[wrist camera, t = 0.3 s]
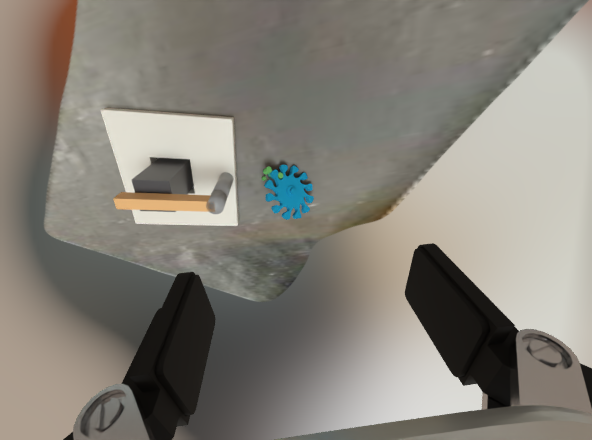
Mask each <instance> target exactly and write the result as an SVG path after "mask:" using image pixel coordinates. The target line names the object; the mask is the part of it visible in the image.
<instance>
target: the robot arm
mask: <svg viewBox="0 0 592 440" xmlns="http://www.w3.org/2000/svg"><path fill="white" fill-rule="evenodd" d="M405 296H406V299H407V301H408V302H409V304H410V305H411V307H412V309H413V310H414V312H415V314H416V315H417V317H418V319H419V320H420V322H421V324H422V325H423V327H424V329H425V330H426V332H427V334H428V335H429V337H430V338H431V340H432V342H433V343H434V345H435V346H436V348H437V350H438V352H439V353H440V355H441V357H442V358H443V360H444V361H445V363H446V365H447V366H448V368H449V370H450V371H451V373H452V374H453V375H454V376H455V377H458V378H459V380H460V381H461V383H462V384H463V385H471V384H478V386H479V387H480V388H481V390H482V392H483V397H482V410H477V411H468V412H460V413H453V414H446V415H439V416H432V417H425V418H418V419H411V420H404V421H396V422H390V423H383V424H376V425H369V426H362V427H356V428H349V429H342V430H335V431H328V432H321V433H315V434H308V435H302V436H295V437H288V438H281V439H275V440H592V368H589V367H587V366H585V365H582V364H580V363H579V361H578V359H577V356H576V355H575V354H574V353H573V352H572V350H571V349H570V348H569V347H567V346H566V345H565V344H564V343H563V342H561V341H560V340H558V339H556V338H555V337H553V336H551V335H549V334H547V333H545V332H541V331H538V330H534V329H524V330H520V331H518V330H517V329H516V328H515V327H514V326H515V325H514V324H513V323H512V322H511V321H510V320H509V319H508V318H507V317H506V316H505V315H504V314H503V313H502V312H501V311H500V310H499V309H498V308H497V307H496V306H495V305H494V304H493V303H492V302H491V301H490V299H489V298H488V297H487V296H486V295H485V294H484V293H483V292H482V291H481V290H480V289H479V288H478V287H477V286H476V285H475V284H474V283H473V282H472V281H471V280H470V279H469V278H468V277H467V276H466V275H465V274H464V273H463V272H462V271H461V270H460V269H459V268H458V267H457V266H456V265H455V264H454V263H453V262H452V261H451V260H450V259H449V258H448V257H447V256H446V255H445V254H444V253H443V252H442V250H441V249H440V248H439V247H438V246H437V245H435V244H424V245H419V246H418V248H417V249H415V251H414V254H413V259H412V263H411V267H410V272H409V276H408V280H407V285H406V289H405ZM214 326H215V315H214V312H213V310H212V307H211V305H210V302H209V299H208V297H207V294H206V292H205V289H204V287H203V284H202V281H201V279H200V277H199V275H195V273H194V272H188V273H179V274H178V275H177V276H176V278H175V281H174V283H173V285H172V287H171V289H170V291H169V293H168V296H167V298H166V300H165V302H164V304H163V307H162V308H160V309H159V310H158V311H157V312H156V314H155V316H154V318H153V320H152V322H151V324H150V326H149V328H148V330H147V332H146V334H145V337H144V339H143V341H142V343H141V345H140V347H139V349H138V351H137V353H136V355H135V357H134V359H133V361H132V363H131V366H130V367H129V369H128V371H127V374H126V376H125V378H124V380H123V382H122V384H115V385H113V386H110V387H107V388H106V389H104V390H102V391H100V392H99V393H98V394H96V395H95V396H94V397H93V398H92V399H91V400H90V401H89V402H88V403H87V404H86V405H85V406H84V407H83V409H82V410H81V412H80V414H79V415H78V417H77V419H76V422H75V424H74V429H73V432H72V433H71V434H70V435H68V436H67V437H66V438H65V439H63V440H172V438H173V437H174V434H175V430H176V427H177V426H183V425H188V422H189V417H190V415H192V414H194V412H195V410H196V406H197V402H198V397H199V393H200V388H201V384H202V380H203V375H204V371H205V366H206V361H207V357H208V353H209V348H210V344H211V339H212V335H213V330H214Z"/></svg>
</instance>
